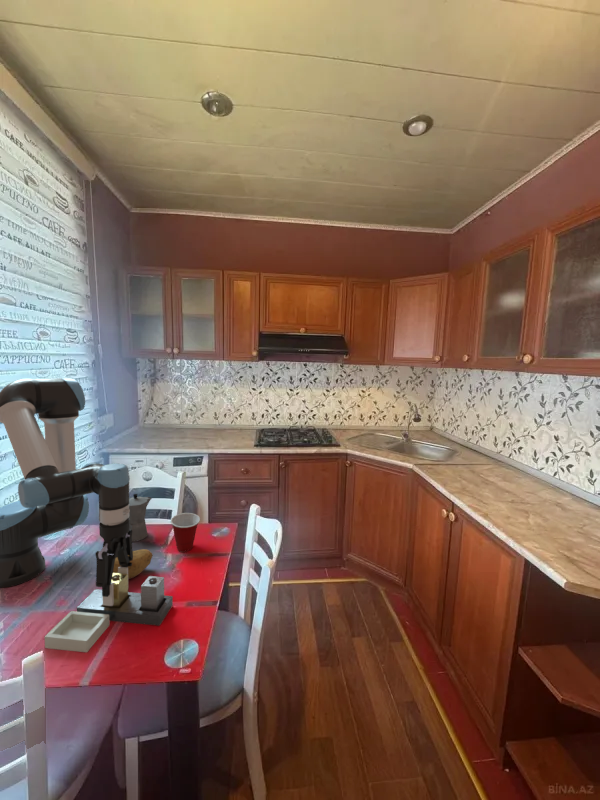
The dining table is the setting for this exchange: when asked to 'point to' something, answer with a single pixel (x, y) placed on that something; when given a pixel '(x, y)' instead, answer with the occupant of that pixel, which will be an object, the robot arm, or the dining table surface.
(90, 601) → the rail
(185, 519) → the plastic cup
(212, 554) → the dining table surface
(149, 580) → the square rod with stud
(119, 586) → the block with metal knob
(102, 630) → the parts tray
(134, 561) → the potato
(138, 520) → the coffeepot
